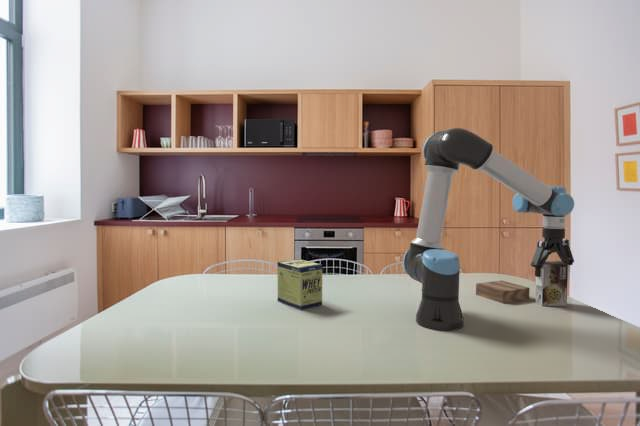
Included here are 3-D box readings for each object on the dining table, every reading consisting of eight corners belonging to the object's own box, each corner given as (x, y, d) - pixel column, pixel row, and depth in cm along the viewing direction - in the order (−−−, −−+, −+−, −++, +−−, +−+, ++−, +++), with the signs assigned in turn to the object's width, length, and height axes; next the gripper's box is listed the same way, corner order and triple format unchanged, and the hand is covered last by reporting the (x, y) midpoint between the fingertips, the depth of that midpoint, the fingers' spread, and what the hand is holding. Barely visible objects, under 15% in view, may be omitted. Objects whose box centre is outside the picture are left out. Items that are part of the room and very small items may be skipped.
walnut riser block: (502, 304, 166) (503, 291, 166) (475, 295, 179) (476, 283, 178) (529, 300, 172) (529, 287, 171) (501, 292, 184) (501, 280, 184)
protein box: (301, 310, 157) (300, 267, 156) (276, 301, 169) (276, 261, 168) (323, 305, 164) (323, 264, 162) (298, 296, 176) (298, 258, 174)
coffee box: (559, 302, 168) (561, 260, 167) (567, 306, 161) (569, 263, 160) (534, 301, 169) (536, 260, 167) (541, 306, 162) (543, 263, 161)
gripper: (538, 230, 155) (536, 289, 156) (585, 226, 164) (583, 281, 166) (521, 228, 161) (519, 284, 163) (567, 224, 171) (565, 278, 173)
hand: (552, 283), depth 164 cm, fingers open, 13 cm apart
